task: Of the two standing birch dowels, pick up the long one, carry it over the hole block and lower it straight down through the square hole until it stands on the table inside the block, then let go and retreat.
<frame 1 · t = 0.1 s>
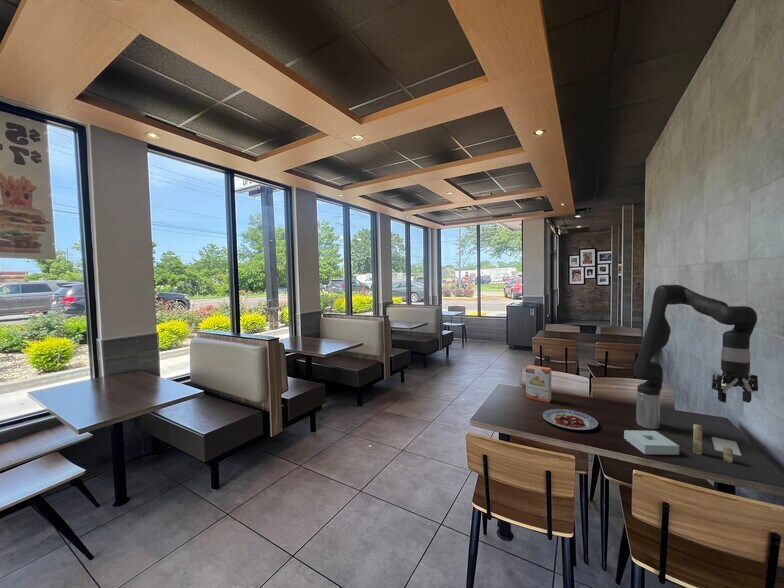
hand: (734, 401, 123), 29 cm above the table, fingers open, 8 cm apart
hole block: (650, 446, 148), on the table
cracker box: (538, 399, 207), on the table
short pin: (727, 460, 135), on the table
long pin: (697, 452, 142), on the table
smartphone: (726, 448, 146), on the table
ceramic plate: (569, 422, 174), on the table
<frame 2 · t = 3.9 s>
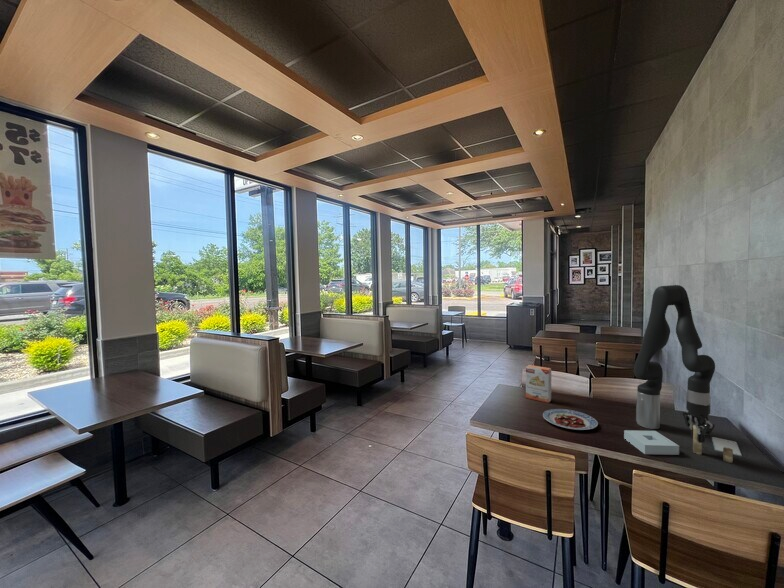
hand: (697, 440, 141), 6 cm above the table, fingers closed on long pin, 2 cm apart
long pin: (697, 452, 142), on the table, touching gripper
everything else where it was.
when the fingers open (6 cm above the table, at t = 9.0 s): long pin stays where it is, resting in hole block.
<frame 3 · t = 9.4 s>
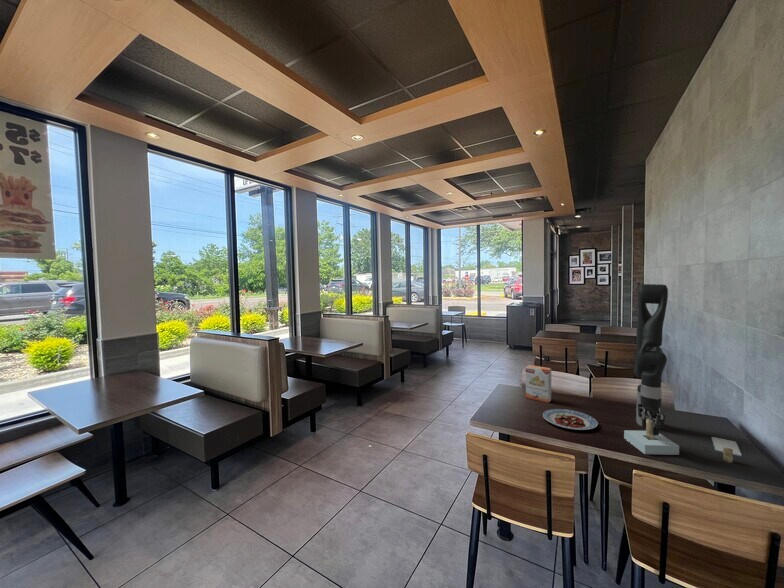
hand: (650, 431, 147), 7 cm above the table, fingers open, 6 cm apart
long pin: (649, 446, 148), resting in hole block
everything else where it was.
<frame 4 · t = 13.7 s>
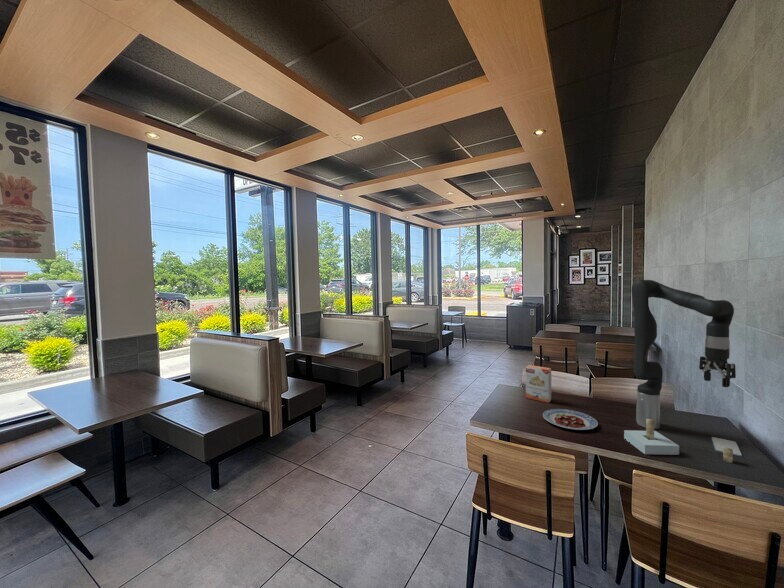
hand: (716, 383, 141), 30 cm above the table, fingers open, 8 cm apart
nothing on the table moved.
at the end: long pin 0.1 cm off-centre on the hole block, point 0.0 cm above the hole block's base; long pin tilted 0°; the gripper is holding nothing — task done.
